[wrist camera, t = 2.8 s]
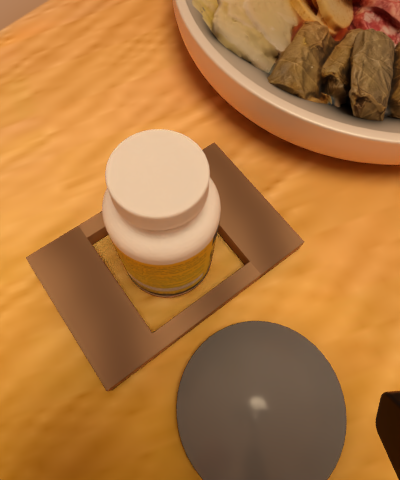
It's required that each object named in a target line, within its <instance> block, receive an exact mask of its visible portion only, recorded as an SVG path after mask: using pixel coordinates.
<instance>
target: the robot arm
mask: <svg viewBox="0 0 400 480" xmlns="http://www.w3.org/2000/svg"><path fill="white" fill-rule="evenodd" d="M376 428H377V432H378V434H379V437H380V439H381V441H382V443H383V445H384V448H385V450H386V452H387V454H388V457H389V459H390V461H391V463H392V466H393V468H394V470H395V472H396V474H397V477H398V479H399V480H400V391H392V392H385V393H383V394H382V395H381V398H380V403H379V407H378V412H377V416H376Z"/></svg>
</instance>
